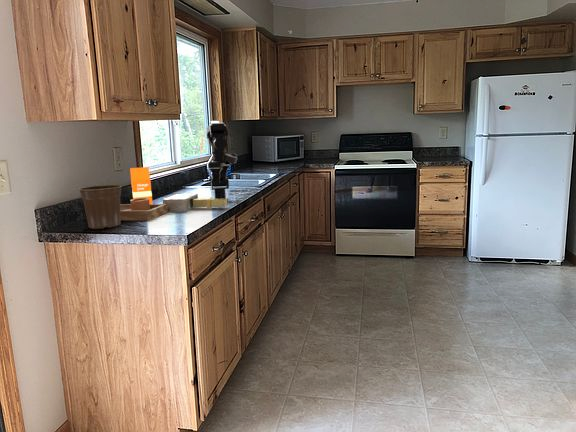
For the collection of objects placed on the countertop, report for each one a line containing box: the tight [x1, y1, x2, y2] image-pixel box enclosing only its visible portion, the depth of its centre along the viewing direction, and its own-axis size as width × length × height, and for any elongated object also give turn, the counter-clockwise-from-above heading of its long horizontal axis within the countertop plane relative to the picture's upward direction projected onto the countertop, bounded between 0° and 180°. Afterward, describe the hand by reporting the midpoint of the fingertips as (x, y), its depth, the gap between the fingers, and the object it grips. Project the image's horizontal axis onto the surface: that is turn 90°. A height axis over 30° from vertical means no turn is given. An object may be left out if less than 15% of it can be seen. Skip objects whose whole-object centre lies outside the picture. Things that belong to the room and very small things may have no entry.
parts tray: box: [120, 203, 169, 221], centre depth 203 cm, size 17×26×4 cm, turn 80°
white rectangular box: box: [162, 193, 199, 213], centre depth 217 cm, size 16×11×6 cm
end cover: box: [193, 197, 228, 209], centre depth 215 cm, size 5×16×4 cm, turn 80°
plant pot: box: [78, 184, 123, 230], centre depth 182 cm, size 16×16×16 cm
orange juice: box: [130, 166, 154, 204], centre depth 223 cm, size 8×9×20 cm
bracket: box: [123, 198, 150, 211], centre depth 203 cm, size 18×8×7 cm, turn 146°
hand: (221, 181), depth 221 cm, fingers open, 9 cm apart
